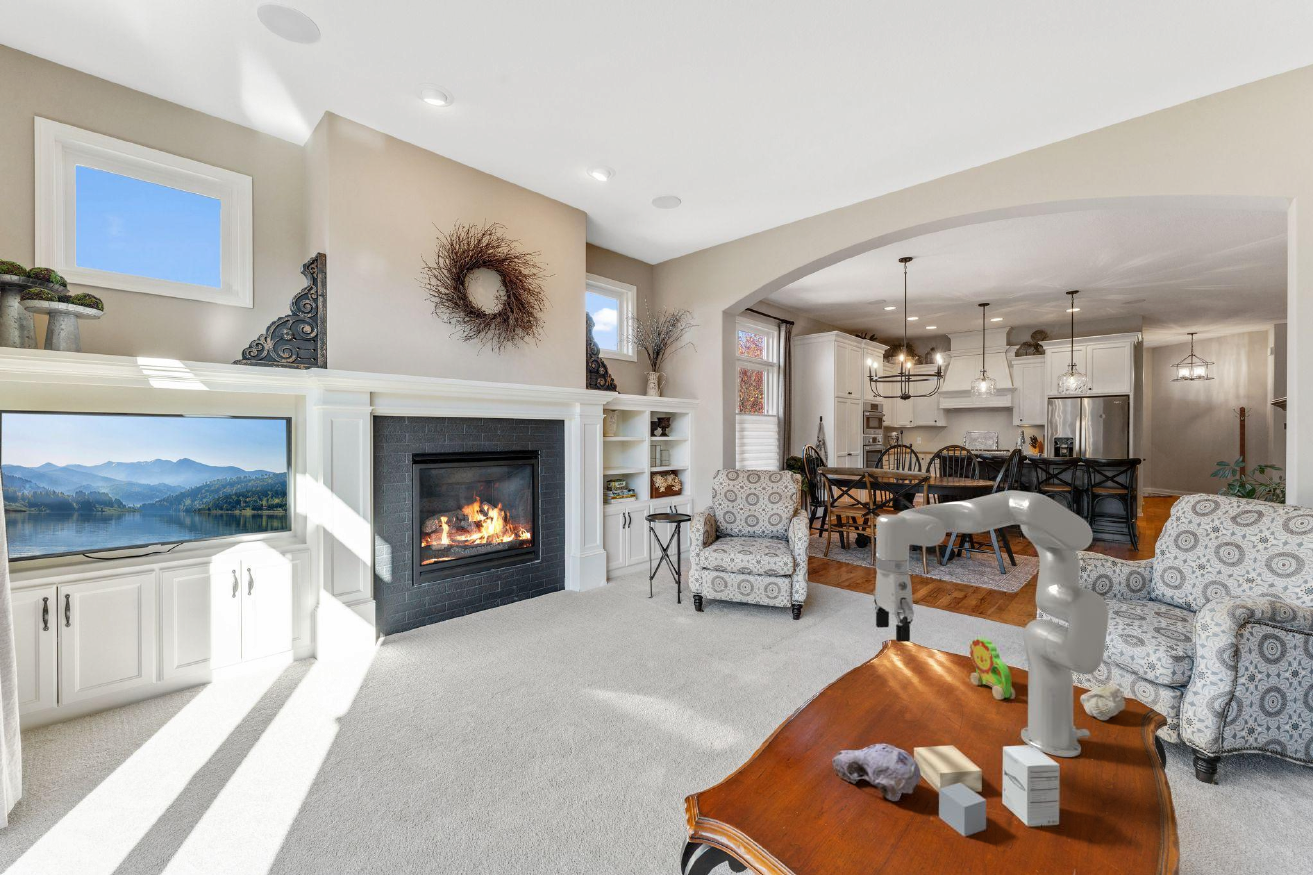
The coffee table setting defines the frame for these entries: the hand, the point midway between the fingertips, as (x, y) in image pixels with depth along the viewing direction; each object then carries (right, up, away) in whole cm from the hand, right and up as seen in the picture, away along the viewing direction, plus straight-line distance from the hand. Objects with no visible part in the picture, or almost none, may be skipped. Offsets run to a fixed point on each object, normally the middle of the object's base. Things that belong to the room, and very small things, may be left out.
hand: (892, 633), depth 136 cm
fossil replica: (+69, -31, +21) cm, 79 cm away
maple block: (+9, -31, -9) cm, 33 cm away
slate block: (+4, -31, -23) cm, 39 cm away
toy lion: (+46, -31, +36) cm, 67 cm away
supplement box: (+20, -31, -21) cm, 42 cm away
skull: (-8, -31, -10) cm, 34 cm away
